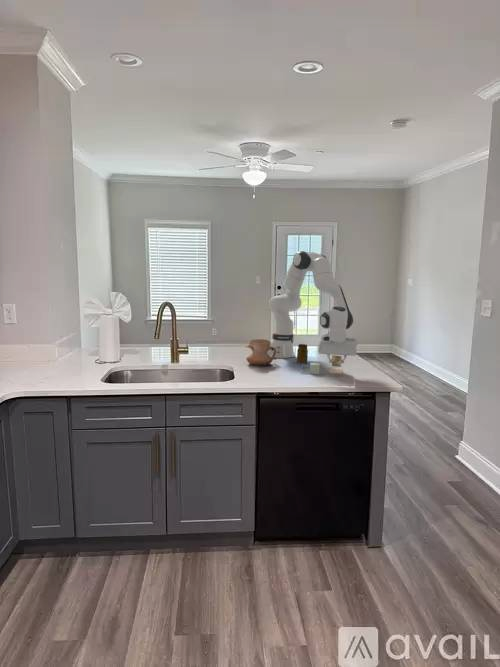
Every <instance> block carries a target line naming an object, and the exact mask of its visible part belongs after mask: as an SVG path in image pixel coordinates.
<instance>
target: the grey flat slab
mask: <svg viewBox="0 0 500 667" xmlns="http://www.w3.org/2000/svg"><path fill="white" fill-rule="evenodd" d="M300 374H301V375H311V376H312V375H313V376H314V375H315V376H329V377H339V378H340V377H342V378H343V377H344V370H343V369H337V368H335V369H334V368H321V367H320V372H319V374H310V367H305V366H304V367H302V369H301V372H300Z"/></svg>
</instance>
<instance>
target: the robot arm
mask: <svg viewBox="0 0 500 667" xmlns="http://www.w3.org/2000/svg"><path fill="white" fill-rule="evenodd" d="M307 272H312V278H313V283H314V286H315V288H316V289H317V290H318V291H319V292H321V293H324V294H327V295H329V296H330V297H332V298H333V299H334V300H335V302H336V303H335V304H336V306H332V308H331V309H330V310H328V311H324V312H322V314H320V317H319V323H320V326H321V327H322V328H323V329H326V330H329V333H326V334H322V335H321V336H320V341H319V344H318V349H317V353H318V354H320V355H326V356H327V358H328V363H329V364H330V363H331V364H332V358H331V356H332V355H335V356H343V358H342V361H341V364H345V360H346V359H347V356H351V357H352V356H356V355H357V346H358V342H359V341H358V340H357V339H356V338H354V337H347V330H348V329H350V328H351V327H352V326H353V324H354V317H353V314H352V312H351V310H350V309H349V306H348V303H347V300H346V297H345V294H344V292H343V289H342V288H343V287H342V286H341V285H340V284H338V283H337V281H336V280H335V277H334V274H333V273H334V272H333V269H332V266H331V262H330V261H329V259H328V258H327V256H325V255H323V254H322V253H317V252H314V251H305V250H300V251H297V252H295V254H294V256H293V259H292V262H291V264H290V266H289V268H288V271H287V273H286V275H285V278H284V281H283V287H284V288H285V290H284V293H283V294H278V295H275V296H273V297H270V298H269V301H268V308H269V309H270V311H271V312H272V313H273V315H274V319H275V332H273V333H272V334H271V335H272V336H271V338H272V339H270V341H271V343H270V346H274V347H275V348H276V355H275V356H274V358H273V359H275V358H276V359H286V358H294V357H295V351H294V340H295V339H294V337H295V336H294V321H293V320H292V319H291V317H290V312H296V311H297V310H299V309H300V308H301V307H302V299H301V296H300V295H301V294H300V292H301V288H302V285H303V282H304V280H305V278H306V274H307ZM267 354H268V355H269V356H271V357H272V356H273V354H274V349H273V348H272V349H270V350H268V352H267Z"/></svg>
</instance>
